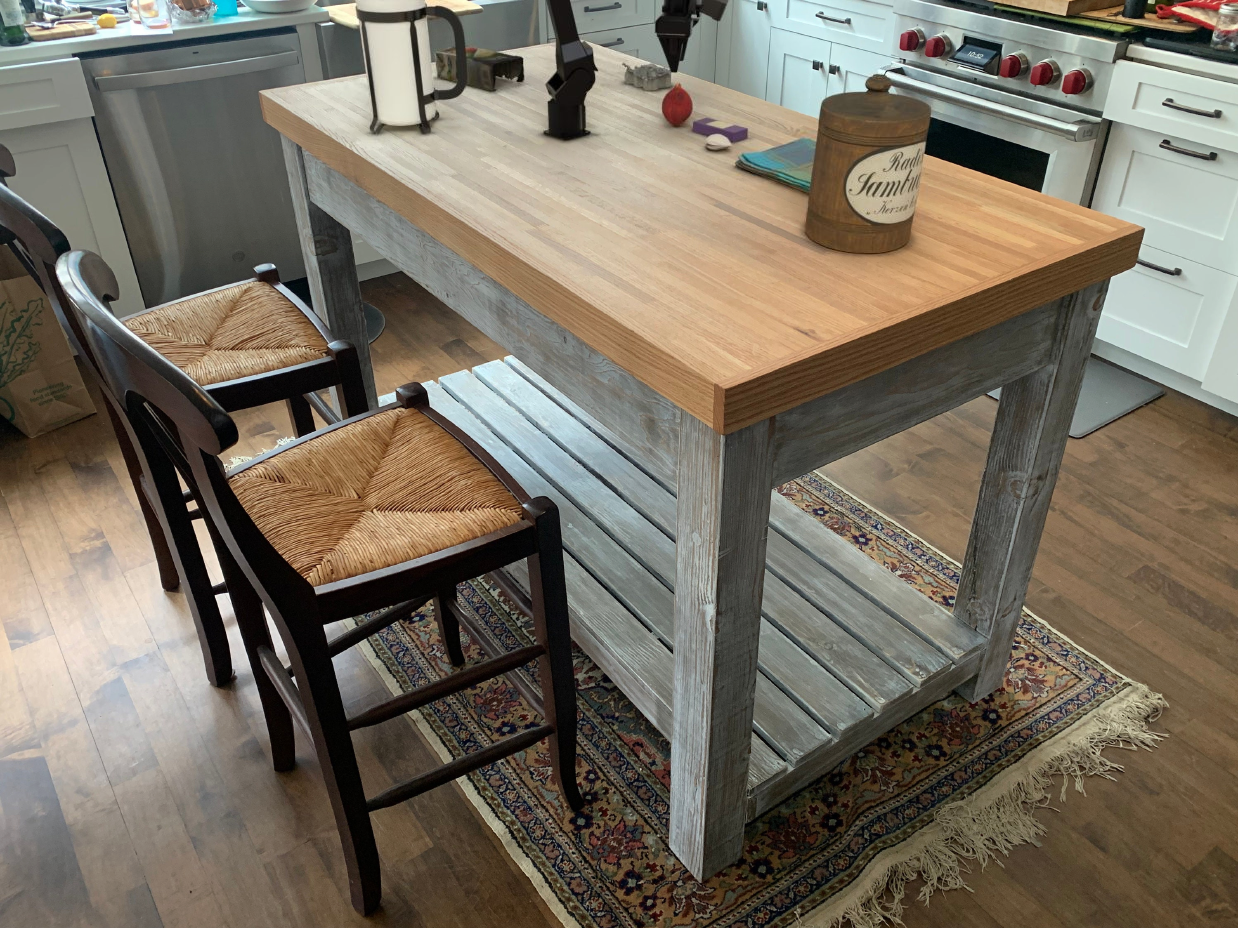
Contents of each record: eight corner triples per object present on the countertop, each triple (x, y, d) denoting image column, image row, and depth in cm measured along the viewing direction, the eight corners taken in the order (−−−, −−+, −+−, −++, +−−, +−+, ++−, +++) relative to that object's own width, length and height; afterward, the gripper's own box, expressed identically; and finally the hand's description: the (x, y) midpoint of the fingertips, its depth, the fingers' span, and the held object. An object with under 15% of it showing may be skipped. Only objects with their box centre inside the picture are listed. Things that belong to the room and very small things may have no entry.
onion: (692, 131, 184) (694, 87, 180) (661, 131, 184) (662, 87, 180) (691, 122, 189) (692, 79, 184) (661, 122, 189) (662, 79, 185)
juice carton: (431, 77, 218) (429, 47, 215) (465, 69, 224) (463, 41, 221) (492, 94, 207) (491, 63, 204) (526, 85, 213) (525, 55, 210)
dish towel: (806, 149, 175) (807, 135, 174) (909, 185, 160) (912, 169, 158) (733, 168, 167) (734, 153, 165) (834, 207, 151) (836, 191, 150)
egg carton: (619, 82, 215) (619, 62, 213) (648, 77, 218) (648, 58, 216) (647, 92, 207) (647, 72, 205) (676, 87, 211) (676, 67, 208)
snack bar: (747, 138, 181) (748, 127, 180) (733, 143, 178) (733, 132, 177) (706, 127, 187) (706, 117, 186) (692, 131, 184) (692, 121, 183)
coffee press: (392, 144, 178) (369, -41, 161) (351, 124, 188) (325, -52, 171) (474, 126, 187) (459, -50, 170) (430, 108, 197) (413, -60, 180)
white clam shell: (714, 144, 178) (715, 130, 176) (737, 150, 175) (738, 135, 174) (700, 150, 175) (701, 136, 174) (724, 155, 172) (725, 141, 171)
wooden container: (859, 263, 134) (884, 95, 121) (783, 230, 144) (799, 72, 131) (931, 238, 141) (962, 78, 128) (854, 208, 151) (875, 57, 138)
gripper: (722, -17, 164) (716, 81, 172) (731, -34, 179) (725, 57, 188) (655, -19, 165) (653, 78, 174) (670, -36, 180) (667, 54, 189)
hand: (677, 66), depth 181 cm, fingers open, 9 cm apart
